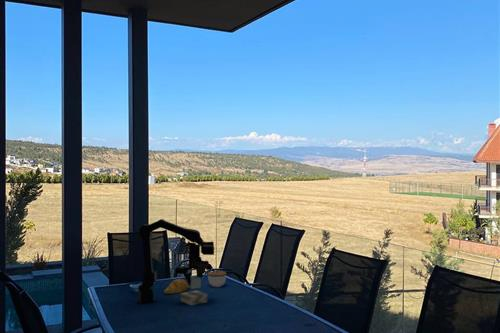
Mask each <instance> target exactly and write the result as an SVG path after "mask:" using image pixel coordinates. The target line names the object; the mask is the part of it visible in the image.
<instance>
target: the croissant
mask: <svg viewBox="0 0 500 333" xmlns="http://www.w3.org/2000/svg"><path fill="white" fill-rule="evenodd" d="M189 289H190V288H189V287H187V280H186V279H183V278H176V279H174V280H173V281H171V282H170V284H168V286H167V287H166V289H164V291H163V292H164V294H166V295H172V294H174V295H175V294H181V293H185V292H186V291H187V290H189Z"/></svg>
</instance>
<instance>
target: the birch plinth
mask: <svg viewBox="0 0 500 333" xmlns="http://www.w3.org/2000/svg"><path fill="white" fill-rule="evenodd" d="M180 302H182V303H185V304H186V305H189V306H195V305H200V304H205V303H208V293H206V292H203V291H200V290H191V291H187V292H186V291H184V292H181V293H180Z"/></svg>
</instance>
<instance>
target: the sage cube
mask: <svg viewBox="0 0 500 333" xmlns="http://www.w3.org/2000/svg"><path fill="white" fill-rule="evenodd" d="M201 282H202V278H201V277H198V276H197V275H193V276H191V284H190V286H189V285H188V283H187V287H189V288H188V289H192V290H194V289H199V288H201V286H202V283H201Z"/></svg>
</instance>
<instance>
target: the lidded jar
mask: <svg viewBox="0 0 500 333" xmlns="http://www.w3.org/2000/svg"><path fill="white" fill-rule="evenodd" d="M207 278H208V283H209V284H210V285H211V287H213V288H221V286H222V287H223V286H224V285H225V283H226V281H227V272H226V271H223V270H219V269H216V270H210V271H208V273H207Z"/></svg>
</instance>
